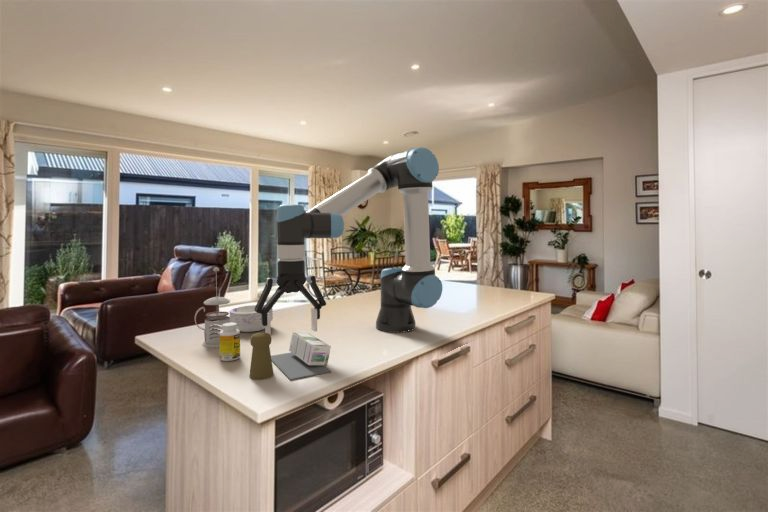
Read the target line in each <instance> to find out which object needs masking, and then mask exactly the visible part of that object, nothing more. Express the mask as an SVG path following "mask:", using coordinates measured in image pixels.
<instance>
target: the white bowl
mask: <svg viewBox="0 0 768 512" xmlns="http://www.w3.org/2000/svg"><path fill="white" fill-rule="evenodd" d="M265 305H266V304H264V306H265ZM255 306H256V304H251V305H249V304H248V305H242V306H237V307H233V308H231V309H230V310H229V312H228V313H229V314H228V315H229V317H230V323H231V322H232V323H237V329H238V330H239V331H240V333H242V332H243V333H254V332H255V333H256V332H260V331H263V330H265V326H263V325H262V316H261V313H257V312H256V311H255V310H254V309H255ZM264 306H263V307H264ZM268 313H269V314H270V318H271V322H272V321H273V319H274V316H273V315H274V314H273V307H272V308H271V309H270V311H269V312H268Z"/></svg>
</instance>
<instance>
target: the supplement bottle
mask: <svg viewBox="0 0 768 512" xmlns="http://www.w3.org/2000/svg"><path fill="white" fill-rule="evenodd" d="M221 327H222V329H221V331H220V333H219V341H220V347H219V359H220V361H223V362H234V361H235V360H238V359H240V357H241V331H239V330H238V329H237V323H232V322H231V323H225V324H222V325H221Z"/></svg>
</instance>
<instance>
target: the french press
mask: <svg viewBox="0 0 768 512" xmlns="http://www.w3.org/2000/svg"><path fill="white" fill-rule="evenodd" d="M212 271H213V272H220V268H219V267H218V266H215V267H214V268H213V269H212ZM217 280H218V279H217V273H215V289H216V290H215V291H216V294H215V295H216V296H213V297H210V298H208V299H206V300H204V301H203V305H205V306H221V305H227V304H230V302H231V299H228V298H227V297H224V296H219V295H218V286H217V285H218V283H217V282H218V281H217ZM205 306H201V307H200V308H198V309H197V310H196V311H195V314H194V322H195V325H196V327H197V328H199V329H200V330H203V333H204V341H203V342H202V344H201V345H203V346H202V347H204V346H206V347H205V348H220V341H219V333H220V331H222V324H225V323H230V314H229V313H230V312H229V311H218V307H216V311H211V312H207V313H206V314H205V316H204V317H206V318H204V327H201V326H200V325H198V323H197V316H198V313H199V312H200V311H201V310H203V312H204V313H205V312H206V308H205Z"/></svg>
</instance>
